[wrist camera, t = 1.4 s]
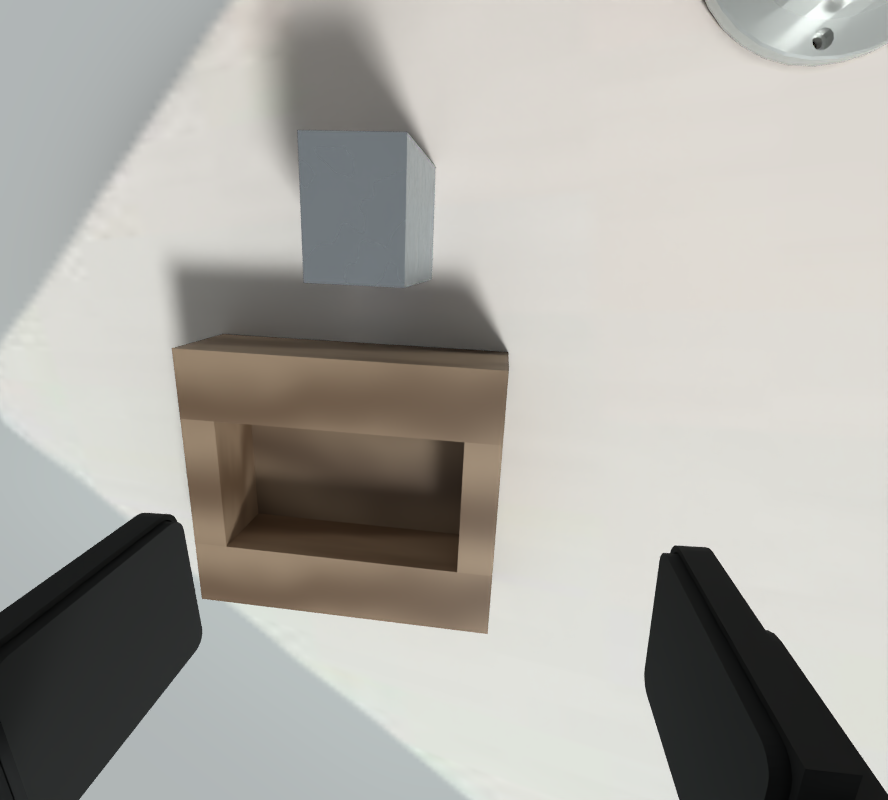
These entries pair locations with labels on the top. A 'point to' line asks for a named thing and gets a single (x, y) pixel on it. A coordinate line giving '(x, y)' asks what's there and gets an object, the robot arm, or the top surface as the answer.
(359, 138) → the tall blue-grey block
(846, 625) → the top surface
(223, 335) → the walnut well
